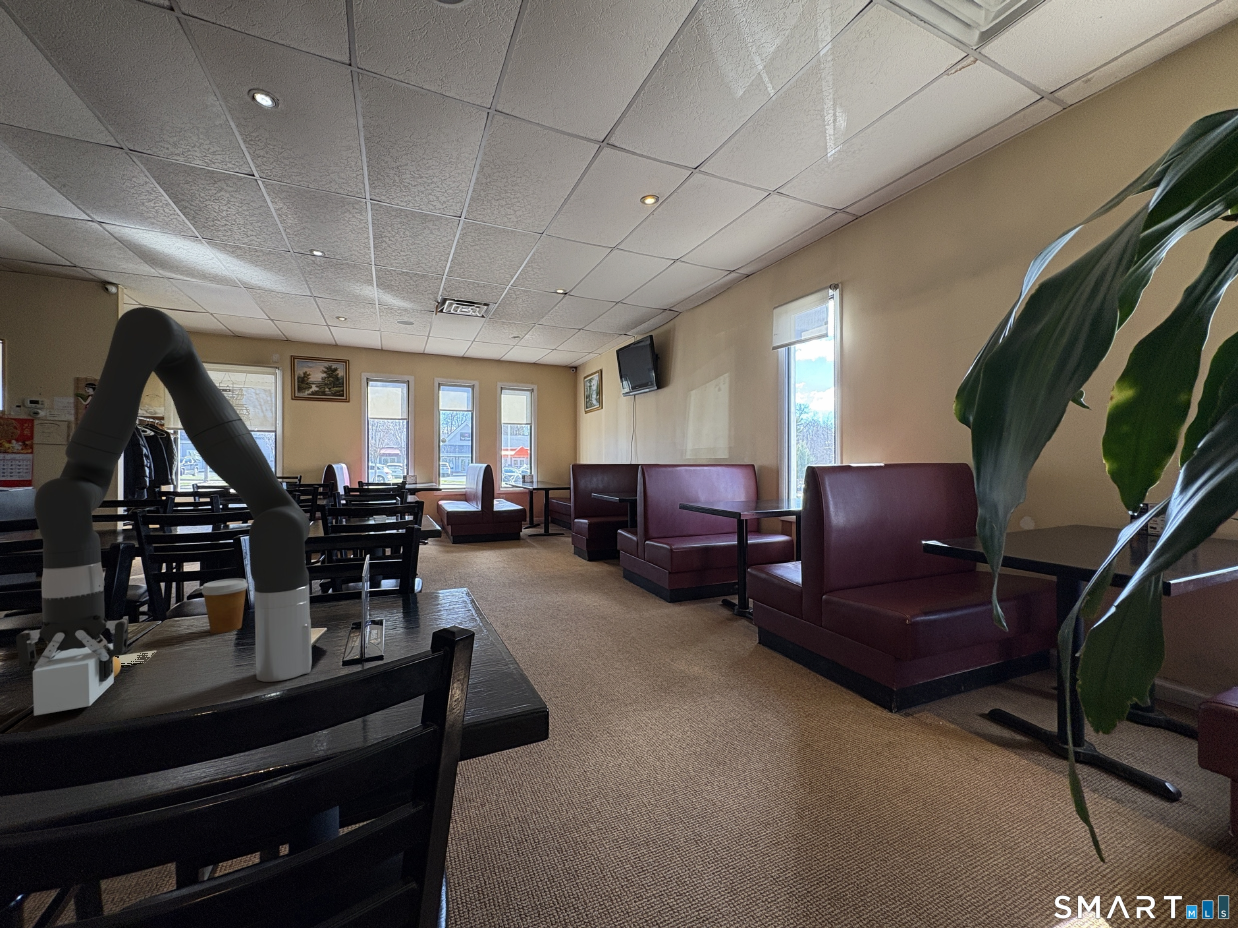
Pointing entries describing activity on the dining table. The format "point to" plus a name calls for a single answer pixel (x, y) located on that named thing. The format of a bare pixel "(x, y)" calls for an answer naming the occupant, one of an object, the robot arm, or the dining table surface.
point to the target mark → (133, 657)
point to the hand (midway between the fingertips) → (76, 684)
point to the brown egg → (116, 665)
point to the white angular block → (68, 681)
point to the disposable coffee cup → (225, 604)
